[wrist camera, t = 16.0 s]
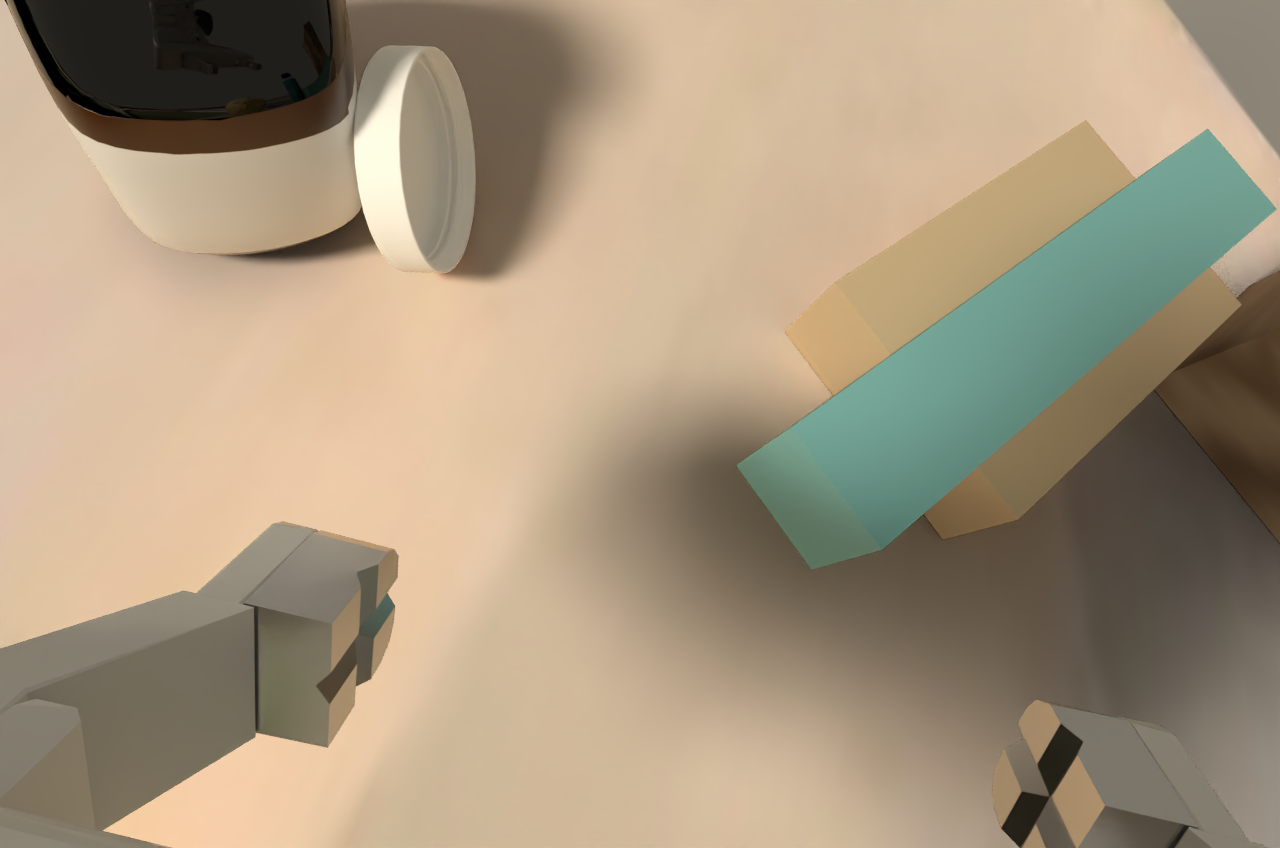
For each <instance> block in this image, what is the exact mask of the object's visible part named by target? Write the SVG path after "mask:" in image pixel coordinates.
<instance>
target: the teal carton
mask: <svg viewBox="0 0 1280 848" xmlns="http://www.w3.org/2000/svg"><path fill="white" fill-rule="evenodd" d="M1275 210H1276V208H1275V206H1274V205H1273V204H1272V203H1271V202H1270V201H1269V199H1268V198H1267V197H1266V196H1265V195H1264V194H1263V192H1262V191H1261V190H1260V189H1259V188H1258V187H1257V185H1256V184H1255V183H1254V182H1253V181H1252V180H1251V178H1250V177H1249V176H1248V175H1247V174H1246V173H1245V171H1244V170H1243V169H1242V168H1241V167H1240V166H1239V164H1238V163H1237V162H1236V161H1235V160H1234V158H1233V157H1232V156H1231V155H1230V154H1229V153H1228V151H1227V150H1226V149H1225V148H1224V147H1223V146H1222V144H1221V143H1220V142H1219V141H1218V140H1217V139H1216V137H1215V136H1214V135H1213V134H1212V133H1211V132H1210V130H1209V129H1207V130H1205V131H1204V132H1202V133H1201V134H1200V135H1198V136H1197V137H1195V138H1194V139H1192V140H1191V141H1190V142H1188V143H1187V144H1185V145H1184V146H1183V147H1181V148H1180V149H1178V150H1177V151H1175V152H1174V153H1173V154H1171V155H1170V156H1168V157H1167V158H1165V159H1164V160H1163V161H1161V162H1160V163H1158V164H1157V165H1155V166H1154V167H1153V168H1151V169H1150V170H1148V171H1147V172H1146V173H1144V174H1143V175H1141V176H1140V177H1138V178H1137V179H1136V180H1134V181H1133V182H1131V183H1130V184H1128V185H1127V186H1126V187H1124V188H1123V189H1121V190H1120V191H1119V192H1117V193H1116V194H1114V195H1113V196H1112V197H1110V198H1109V199H1107V200H1106V201H1105V202H1103V203H1102V204H1100V205H1099V206H1098V207H1096V208H1095V209H1093V210H1092V211H1091V212H1089V213H1088V214H1086V215H1085V216H1084V217H1082V218H1081V219H1079V220H1078V221H1077V222H1075V223H1074V224H1072V225H1071V226H1070V227H1068V228H1067V229H1065V230H1064V231H1063V232H1061V233H1060V234H1058V235H1057V236H1056V237H1054V238H1053V239H1052V240H1050V241H1049V242H1047V243H1046V244H1045V245H1043V246H1042V247H1040V248H1039V249H1038V250H1036V251H1035V252H1033V253H1032V254H1031V255H1029V256H1028V257H1026V258H1025V259H1024V260H1022V261H1021V262H1019V263H1018V264H1017V265H1015V266H1014V267H1012V268H1011V269H1010V270H1008V271H1007V272H1005V273H1004V274H1003V275H1001V276H1000V277H998V278H997V279H996V280H994V281H993V282H991V283H990V284H989V285H987V286H986V287H984V288H983V289H982V290H980V291H979V292H977V293H976V294H975V295H973V296H972V297H971V298H969V299H968V300H966V301H965V302H964V303H962V304H961V305H959V306H958V307H957V308H955V309H954V310H952V311H951V312H950V313H948V314H947V315H945V316H944V317H943V318H941V319H940V320H938V321H937V322H936V323H934V324H933V325H931V326H930V327H929V328H927V329H926V330H924V331H923V332H922V333H920V334H919V335H917V336H916V337H915V338H913V339H912V340H910V341H909V342H908V343H906V344H905V345H903V346H902V347H901V348H899V349H898V350H897V351H895V352H894V353H892V354H891V355H890V356H888V357H887V358H885V359H884V360H883V361H881V362H880V363H878V364H877V365H876V366H874V367H873V368H871V369H870V370H869V371H867V372H866V373H864V374H863V375H862V376H860V377H859V378H857V379H856V380H855V381H853V382H852V383H850V384H849V385H848V386H846V387H845V388H843V389H842V390H841V391H839V392H838V393H836V394H835V395H834V396H832V397H831V398H829V399H828V400H827V401H825V402H824V403H823V404H821V405H820V406H818V407H817V408H816V409H814V410H813V411H811V412H810V413H809V414H807V415H806V416H804V417H803V418H802V419H800V420H799V421H797V422H796V423H795V424H793V425H792V426H790V427H789V428H788V429H786V430H785V431H783V432H782V433H781V434H779V435H778V436H776V437H775V438H774V439H772V440H771V441H769V442H768V443H767V444H765V445H764V446H762V447H761V448H760V449H758V450H757V451H755V452H754V453H753V454H751V455H750V456H748V457H747V458H746V459H744V460H743V461H742V462H740V463H739V464H737V465H736V466H737V468H738V469H739V470H740V472H741V473H742V474H743V476H744V477H745V479H746V480H747V481H748V483H749V484H750V486H751V487H752V488H753V490H754V491H755V492H756V494H757V495H758V497H759V498H760V499H761V501H762V502H763V504H764V505H765V506H766V508H767V509H768V510H769V512H770V513H771V515H772V516H773V517H774V519H775V520H776V521H777V523H778V524H779V526H780V527H781V528H782V530H783V531H784V533H785V534H786V535H787V537H788V538H789V539H790V541H791V542H792V544H793V545H794V546H795V548H796V549H797V551H798V552H799V553H800V555H801V556H802V557H803V559H804V560H805V562H806V563H807V564H808V566H809V567H810V569H811V570H812V569H816V568H820V567H823V566H827V565H830V564H834V563H837V562H841V561H845V560H848V559H852V558H855V557H859V556H862V555H866V554H870V553H873V552H877V551H880V550H882V549H884V548H885V547H886V546H887V545H888V544H889V543H891V542H892V541H893V540H894V539H895V538H896V537H898V536H899V535H900V534H901V533H902V532H903V531H904V530H906V529H907V528H908V527H909V526H910V525H911V524H913V523H914V522H915V521H916V520H917V519H918V518H920V517H921V516H922V515H923V514H924V513H925V512H926V511H928V510H929V509H930V508H931V507H932V506H933V505H935V504H936V503H937V502H938V501H939V500H940V499H942V498H943V497H944V496H945V495H946V494H947V493H948V492H950V491H951V490H952V489H953V488H954V487H955V486H957V485H958V484H959V483H960V482H961V481H962V480H963V479H965V478H966V477H967V476H968V475H969V474H970V473H972V472H973V471H974V470H975V469H976V468H977V467H979V466H980V465H981V464H982V463H983V462H984V461H985V460H987V459H988V458H989V457H990V456H991V455H992V454H994V453H995V452H996V451H997V450H998V449H999V448H1001V447H1002V446H1003V445H1004V444H1005V443H1006V442H1007V441H1009V440H1010V439H1011V438H1012V437H1013V436H1014V435H1016V434H1017V433H1018V432H1019V431H1020V430H1021V429H1023V428H1024V427H1025V426H1026V425H1027V424H1028V423H1029V422H1031V421H1032V420H1033V419H1034V418H1035V417H1036V416H1038V415H1039V414H1040V413H1041V412H1042V411H1043V410H1045V409H1046V408H1047V407H1048V406H1049V405H1050V404H1051V403H1053V402H1054V401H1055V400H1056V399H1057V398H1058V397H1060V396H1061V395H1062V394H1063V393H1064V392H1065V391H1067V390H1068V389H1069V388H1070V387H1071V386H1072V385H1073V384H1075V383H1076V382H1077V381H1078V380H1079V379H1080V378H1082V377H1083V376H1084V375H1085V374H1086V373H1087V372H1089V371H1090V370H1091V369H1092V368H1093V367H1094V366H1095V365H1097V364H1098V363H1099V362H1100V361H1101V360H1102V359H1104V358H1105V357H1106V356H1107V355H1108V354H1109V353H1110V352H1112V351H1113V350H1114V349H1115V348H1116V347H1117V346H1119V345H1120V344H1121V343H1122V342H1123V341H1124V340H1126V339H1127V338H1128V337H1129V336H1130V335H1131V334H1132V333H1134V332H1135V331H1136V330H1137V329H1138V328H1139V327H1141V326H1142V325H1143V324H1144V323H1145V322H1146V321H1148V320H1149V319H1150V318H1151V317H1152V316H1153V315H1154V314H1156V313H1157V312H1158V311H1159V310H1160V309H1161V308H1163V307H1164V306H1165V305H1166V304H1167V303H1168V302H1170V301H1171V300H1172V299H1173V298H1174V297H1175V296H1176V295H1178V294H1179V293H1180V292H1181V291H1182V290H1183V289H1185V288H1186V287H1187V286H1188V285H1189V284H1190V283H1192V282H1193V281H1194V280H1195V279H1196V278H1197V277H1198V276H1200V275H1201V274H1202V273H1203V272H1204V271H1205V270H1207V269H1208V268H1209V267H1210V266H1211V265H1212V264H1214V263H1215V262H1216V261H1217V260H1218V259H1219V258H1220V257H1222V256H1223V255H1224V254H1225V253H1226V252H1227V251H1229V250H1230V249H1231V248H1232V247H1233V246H1234V245H1236V244H1237V243H1238V242H1239V241H1240V240H1241V239H1242V238H1244V237H1245V236H1246V235H1247V234H1248V233H1249V232H1251V231H1252V230H1253V229H1254V228H1255V227H1256V226H1258V225H1259V224H1260V223H1261V222H1262V221H1263V220H1264V219H1266V218H1267V217H1268V216H1269V215H1270V214H1271V213H1273V212H1274V211H1275Z"/></svg>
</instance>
